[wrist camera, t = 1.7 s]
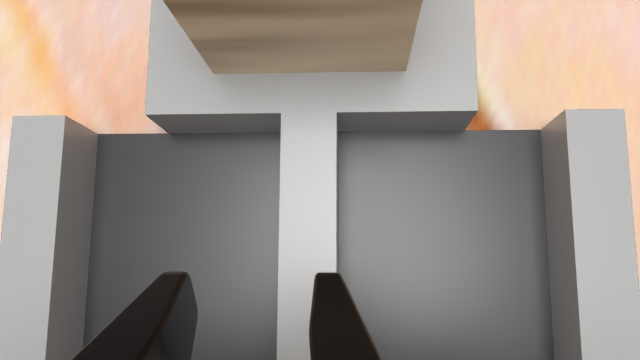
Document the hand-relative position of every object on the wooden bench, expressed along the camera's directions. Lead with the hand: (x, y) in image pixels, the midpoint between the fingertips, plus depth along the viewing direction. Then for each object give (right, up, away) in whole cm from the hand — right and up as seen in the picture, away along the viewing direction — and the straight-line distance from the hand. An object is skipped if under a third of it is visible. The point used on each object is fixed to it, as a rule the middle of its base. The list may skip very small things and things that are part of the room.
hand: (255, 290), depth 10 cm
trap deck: (+1, +7, +15) cm, 17 cm away
